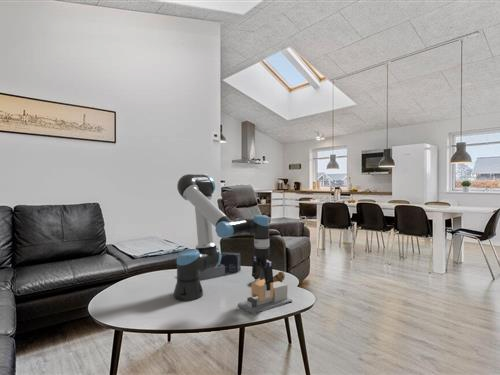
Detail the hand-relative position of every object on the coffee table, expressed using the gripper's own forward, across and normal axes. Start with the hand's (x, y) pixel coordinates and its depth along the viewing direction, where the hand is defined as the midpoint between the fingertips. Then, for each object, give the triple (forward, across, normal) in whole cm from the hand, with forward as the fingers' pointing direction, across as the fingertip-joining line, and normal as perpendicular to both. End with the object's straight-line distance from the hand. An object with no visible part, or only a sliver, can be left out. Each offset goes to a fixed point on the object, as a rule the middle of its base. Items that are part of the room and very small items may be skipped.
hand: (262, 294), depth 143 cm
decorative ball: (+5, -27, +20) cm, 34 cm away
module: (+1, 0, 0) cm, 1 cm away
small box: (+5, -59, +16) cm, 61 cm away
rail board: (+5, 0, +2) cm, 5 cm away
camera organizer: (+4, -60, -3) cm, 60 cm away
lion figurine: (+5, -16, +19) cm, 25 cm away
